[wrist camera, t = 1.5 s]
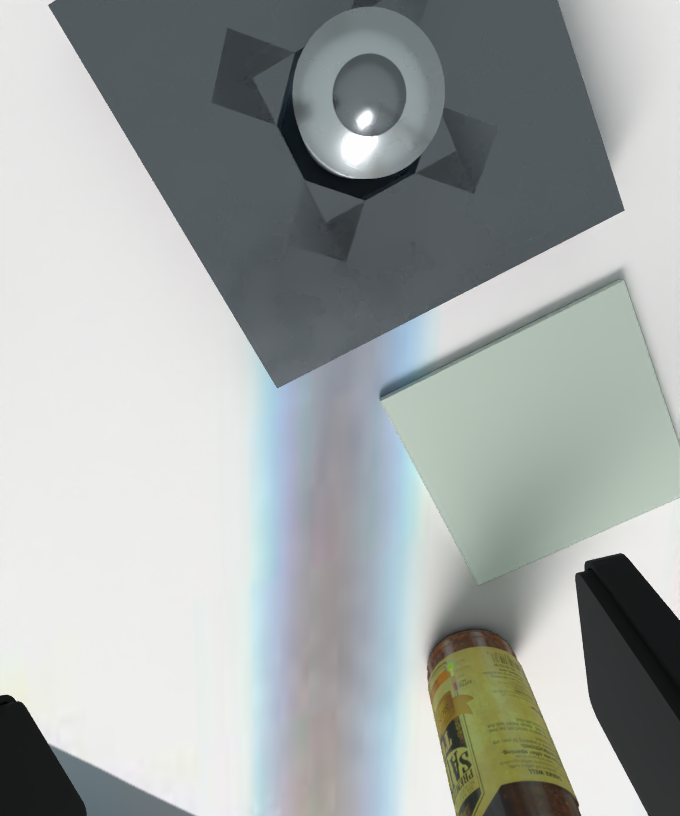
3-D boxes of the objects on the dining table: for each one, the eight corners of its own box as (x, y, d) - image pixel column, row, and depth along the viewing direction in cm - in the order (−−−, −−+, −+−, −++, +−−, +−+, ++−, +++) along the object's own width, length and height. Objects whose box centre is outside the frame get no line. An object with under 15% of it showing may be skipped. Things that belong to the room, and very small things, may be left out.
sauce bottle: (415, 634, 39) (505, 1049, 20) (509, 615, 39) (687, 1018, 20) (432, 706, 41) (526, 1136, 23) (520, 688, 41) (689, 1110, 22)
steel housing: (451, -218, 23) (470, -272, 21) (595, 207, 29) (624, 210, 27) (77, 23, 26) (48, 5, 23) (280, 369, 32) (277, 388, 29)
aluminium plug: (377, 38, 26) (406, -29, 18) (423, 146, 28) (469, 132, 20) (280, 95, 27) (263, 57, 19) (330, 197, 29) (336, 205, 20)
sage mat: (619, 279, 31) (624, 280, 30) (689, 487, 35) (694, 491, 35) (379, 398, 33) (380, 401, 32) (476, 580, 37) (478, 585, 37)
